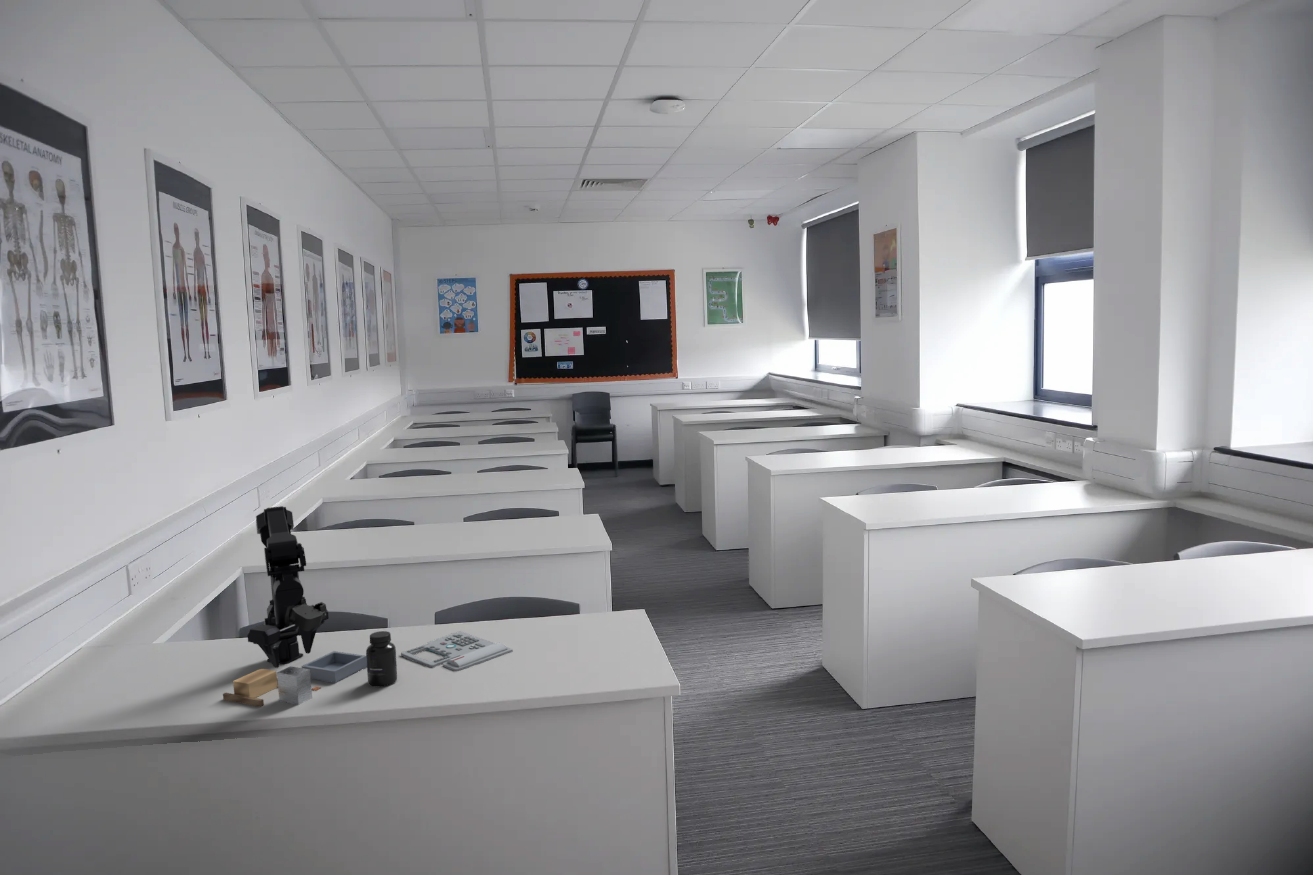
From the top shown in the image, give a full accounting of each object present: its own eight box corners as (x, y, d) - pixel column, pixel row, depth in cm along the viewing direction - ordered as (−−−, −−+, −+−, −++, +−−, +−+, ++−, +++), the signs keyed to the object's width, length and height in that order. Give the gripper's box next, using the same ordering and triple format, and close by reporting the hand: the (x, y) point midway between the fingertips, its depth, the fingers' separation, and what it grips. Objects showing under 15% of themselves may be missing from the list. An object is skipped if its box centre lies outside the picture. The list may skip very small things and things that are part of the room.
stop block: (279, 701, 197) (276, 672, 196) (293, 694, 201) (290, 666, 200) (298, 705, 195) (296, 675, 194) (312, 698, 198) (309, 669, 198)
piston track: (223, 700, 199) (222, 693, 199) (268, 679, 211) (267, 673, 211) (278, 710, 192) (277, 704, 192) (321, 688, 204) (320, 682, 204)
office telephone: (513, 644, 224) (450, 667, 209) (514, 653, 224) (450, 677, 209) (459, 626, 239) (397, 646, 224) (460, 635, 240) (397, 656, 225)
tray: (302, 677, 211) (301, 666, 211) (334, 662, 221) (333, 650, 220) (336, 683, 207) (335, 671, 206) (367, 667, 216) (366, 655, 216)
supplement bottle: (370, 690, 202) (366, 641, 200) (366, 680, 208) (362, 632, 206) (400, 683, 205) (396, 635, 204) (395, 674, 211) (391, 627, 210)
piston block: (234, 697, 200) (233, 681, 200) (262, 684, 207) (261, 668, 207) (250, 700, 198) (248, 683, 198) (277, 687, 205) (276, 671, 205)
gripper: (280, 610, 183) (286, 679, 185) (343, 585, 200) (349, 650, 202) (242, 605, 188) (249, 673, 189) (308, 582, 205) (313, 644, 206)
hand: (292, 660), depth 197 cm, fingers open, 9 cm apart
